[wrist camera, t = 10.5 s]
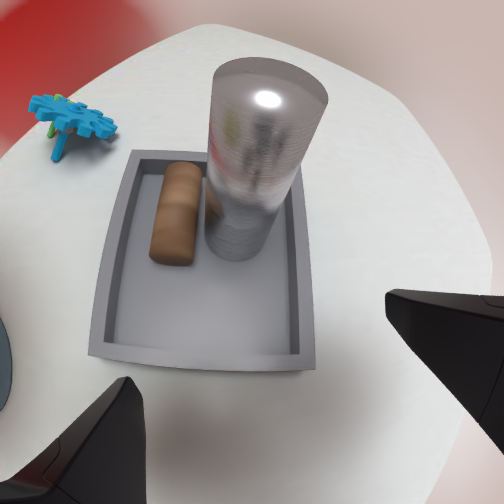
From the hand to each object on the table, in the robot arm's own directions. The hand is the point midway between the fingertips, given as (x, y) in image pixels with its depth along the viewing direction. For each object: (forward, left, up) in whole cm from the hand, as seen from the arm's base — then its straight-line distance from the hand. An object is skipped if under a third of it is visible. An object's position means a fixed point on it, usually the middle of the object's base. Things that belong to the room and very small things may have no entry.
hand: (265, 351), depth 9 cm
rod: (+10, +6, -10) cm, 15 cm away
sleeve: (+9, 0, -10) cm, 14 cm away
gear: (+20, +17, -11) cm, 28 cm away
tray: (+7, +2, -11) cm, 13 cm away
